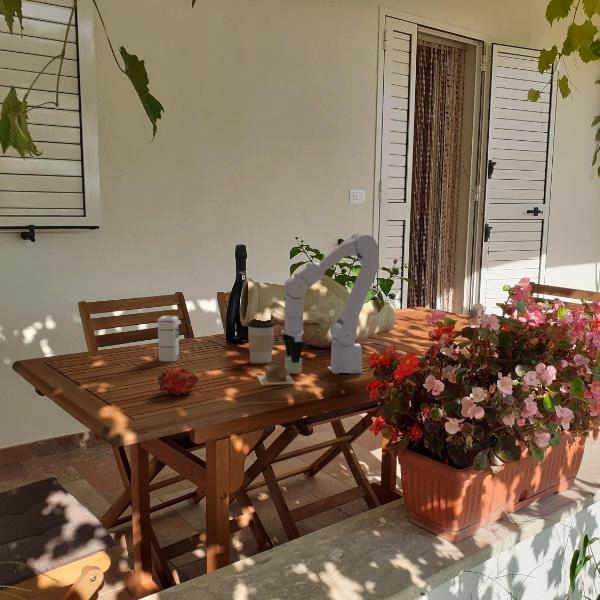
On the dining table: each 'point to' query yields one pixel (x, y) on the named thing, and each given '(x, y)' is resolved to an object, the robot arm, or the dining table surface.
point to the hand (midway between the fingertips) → (293, 359)
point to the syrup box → (168, 338)
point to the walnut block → (275, 373)
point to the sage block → (292, 366)
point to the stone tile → (265, 382)
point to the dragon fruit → (177, 381)
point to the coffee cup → (260, 340)
